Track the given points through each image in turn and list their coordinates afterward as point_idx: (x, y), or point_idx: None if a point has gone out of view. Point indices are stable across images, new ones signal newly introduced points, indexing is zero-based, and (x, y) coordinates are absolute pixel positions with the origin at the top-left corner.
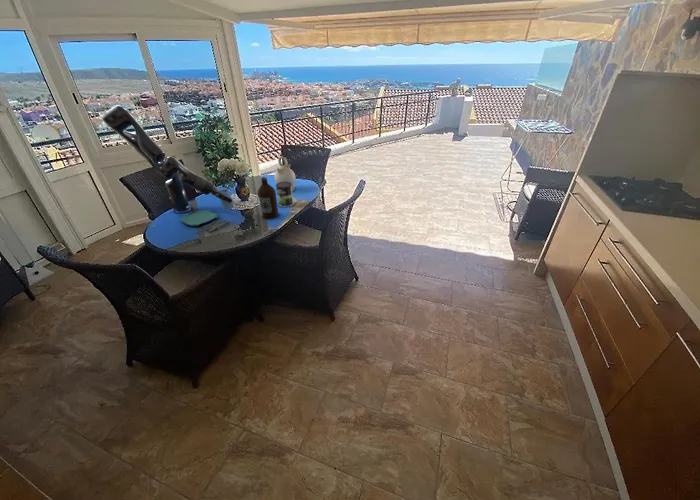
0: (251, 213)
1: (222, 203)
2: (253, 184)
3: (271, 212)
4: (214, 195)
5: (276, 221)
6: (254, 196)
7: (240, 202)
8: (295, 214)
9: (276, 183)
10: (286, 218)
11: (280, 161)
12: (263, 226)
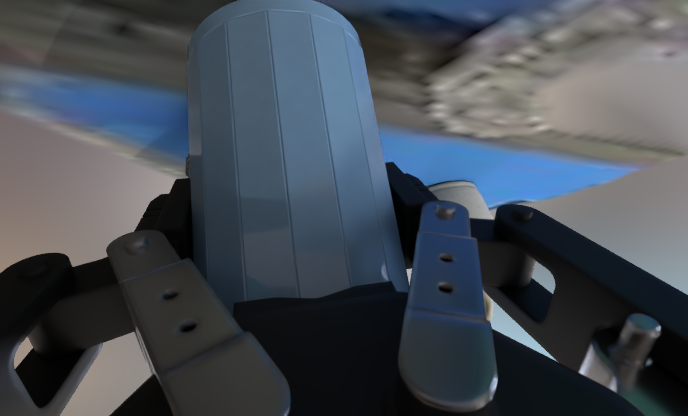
0: (368, 62)
1: (244, 110)
2: (635, 144)
3: (186, 161)
4: (164, 402)
5: (138, 121)
6: (540, 123)
7: (582, 62)
8: (184, 177)
9: (470, 213)
10: (156, 153)
11: (484, 304)
12: (80, 57)
